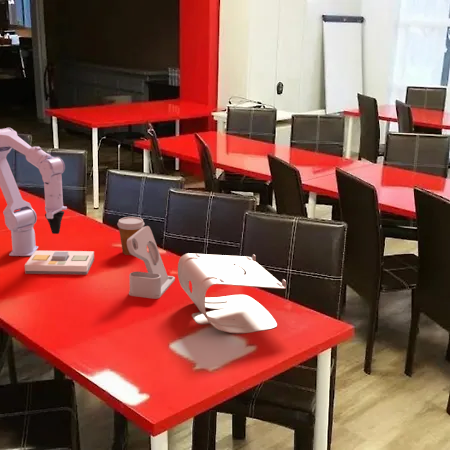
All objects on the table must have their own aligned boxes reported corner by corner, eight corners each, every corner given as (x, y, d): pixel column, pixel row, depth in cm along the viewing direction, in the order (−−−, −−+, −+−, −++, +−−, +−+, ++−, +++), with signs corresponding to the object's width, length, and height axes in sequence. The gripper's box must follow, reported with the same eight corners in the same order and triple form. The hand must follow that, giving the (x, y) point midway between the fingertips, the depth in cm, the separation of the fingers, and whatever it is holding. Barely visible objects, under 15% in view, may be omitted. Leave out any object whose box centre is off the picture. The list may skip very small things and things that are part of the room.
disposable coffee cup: (112, 253, 230) (111, 221, 227) (128, 246, 238) (127, 215, 235) (134, 258, 226) (134, 225, 223) (150, 250, 234) (149, 219, 231)
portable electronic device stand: (176, 302, 192) (176, 253, 187) (249, 292, 200) (251, 245, 195) (204, 340, 169) (205, 286, 164) (286, 328, 177) (289, 275, 173)
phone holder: (158, 299, 193) (157, 242, 188) (126, 295, 196) (125, 239, 190) (176, 278, 209) (176, 225, 204) (146, 275, 212) (145, 222, 206)
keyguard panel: (36, 258, 224) (35, 249, 223) (94, 259, 224) (93, 250, 223) (25, 273, 210) (24, 264, 209) (86, 274, 211) (86, 265, 210)
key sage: (74, 260, 219) (74, 255, 219) (87, 261, 219) (87, 255, 219) (72, 265, 215) (71, 259, 214) (85, 265, 215) (85, 260, 215)
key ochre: (36, 260, 219) (35, 254, 218) (49, 260, 219) (48, 255, 218) (32, 265, 215) (32, 259, 214) (46, 265, 215) (45, 259, 214)
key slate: (55, 257, 219) (55, 251, 218) (68, 257, 219) (68, 251, 218) (52, 261, 214) (52, 256, 214) (65, 262, 215) (65, 256, 214)
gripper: (61, 200, 207) (63, 240, 211) (70, 189, 221) (72, 226, 225) (38, 199, 207) (41, 239, 211) (49, 188, 221) (51, 226, 225)
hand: (55, 233), depth 218 cm, fingers closed
